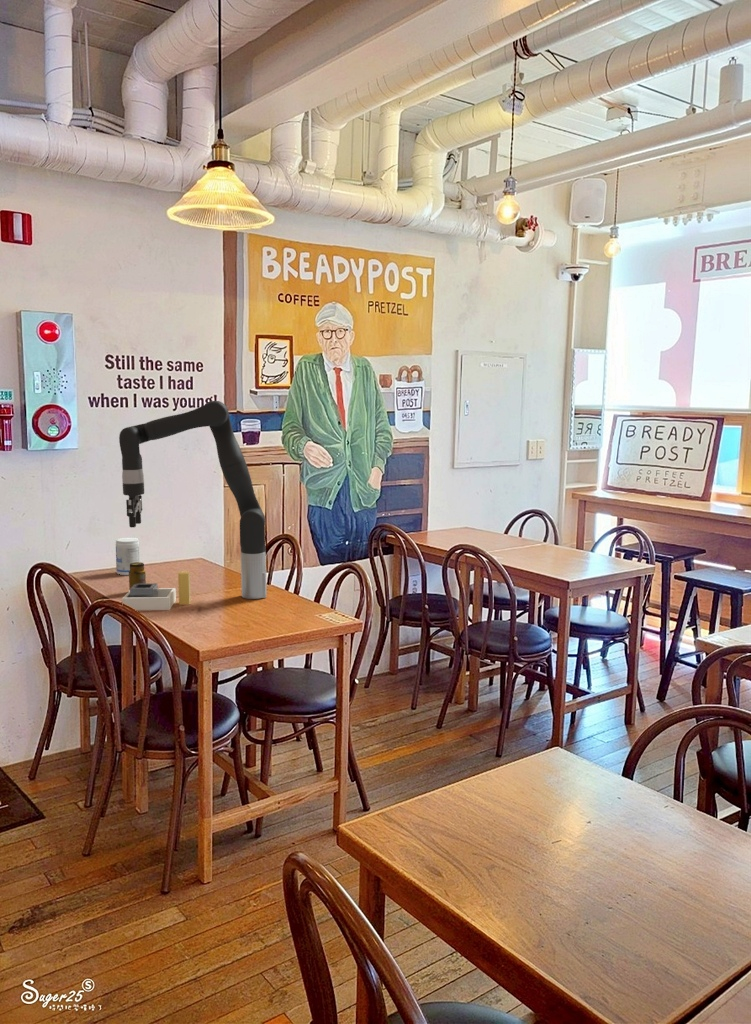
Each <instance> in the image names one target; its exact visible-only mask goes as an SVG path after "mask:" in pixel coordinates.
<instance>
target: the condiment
mask: <svg viewBox="0 0 751 1024" xmlns="http://www.w3.org/2000/svg"><path fill="white" fill-rule="evenodd" d="M146 578H147V577H146V570H145V563H144V562H141V561H140V562H135V563H131V564H130V571H129V575H128V582H129V583H128V588H129V590H128V592H129V591H130V588H131V587H132V586H133V585H134V584H144V583H147V582H146Z"/></svg>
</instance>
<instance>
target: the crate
mask: <svg viewBox="0 0 751 1024" xmlns="http://www.w3.org/2000/svg"><path fill="white" fill-rule="evenodd" d="M176 601H177V589H176V587H172V588H171V587H170V588H169V587H166V588H165V587H164V588H162V587H160V588H158V597H130V591H129V590H128V592H127V593H126V594H125V595H124V596H123V597H122V604H123V603H124V604H126V605H128V606H130V607H132V608H134V609H136V610H135V611H171V608H172V607H173V605H174V604H175V603H176Z"/></svg>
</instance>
